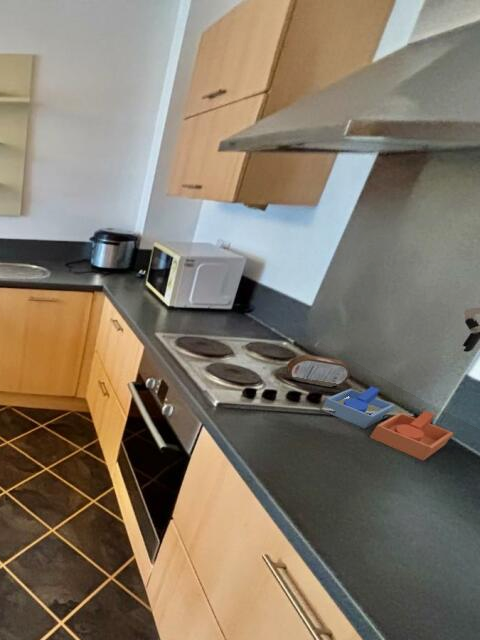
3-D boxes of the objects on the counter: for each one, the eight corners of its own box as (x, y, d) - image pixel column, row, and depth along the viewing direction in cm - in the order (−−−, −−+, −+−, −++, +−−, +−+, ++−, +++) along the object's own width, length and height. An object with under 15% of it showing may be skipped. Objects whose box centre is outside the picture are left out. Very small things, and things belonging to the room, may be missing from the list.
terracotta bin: (444, 444, 98) (453, 432, 96) (423, 460, 91) (432, 448, 90) (392, 424, 105) (400, 412, 104) (369, 437, 99) (377, 425, 97)
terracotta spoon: (437, 426, 98) (443, 417, 97) (413, 448, 95) (418, 439, 93) (412, 416, 102) (417, 408, 100) (387, 437, 98) (392, 429, 97)
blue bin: (387, 416, 109) (395, 404, 107) (364, 428, 102) (372, 416, 101) (344, 399, 116) (350, 388, 114) (320, 409, 110) (326, 398, 108)
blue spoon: (382, 400, 109) (386, 391, 107) (358, 419, 105) (362, 410, 104) (361, 392, 112) (365, 384, 111) (337, 410, 109) (341, 402, 107)
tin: (338, 386, 123) (352, 361, 119) (343, 391, 121) (357, 365, 117) (281, 376, 127) (292, 351, 123) (284, 381, 124) (296, 355, 121)
